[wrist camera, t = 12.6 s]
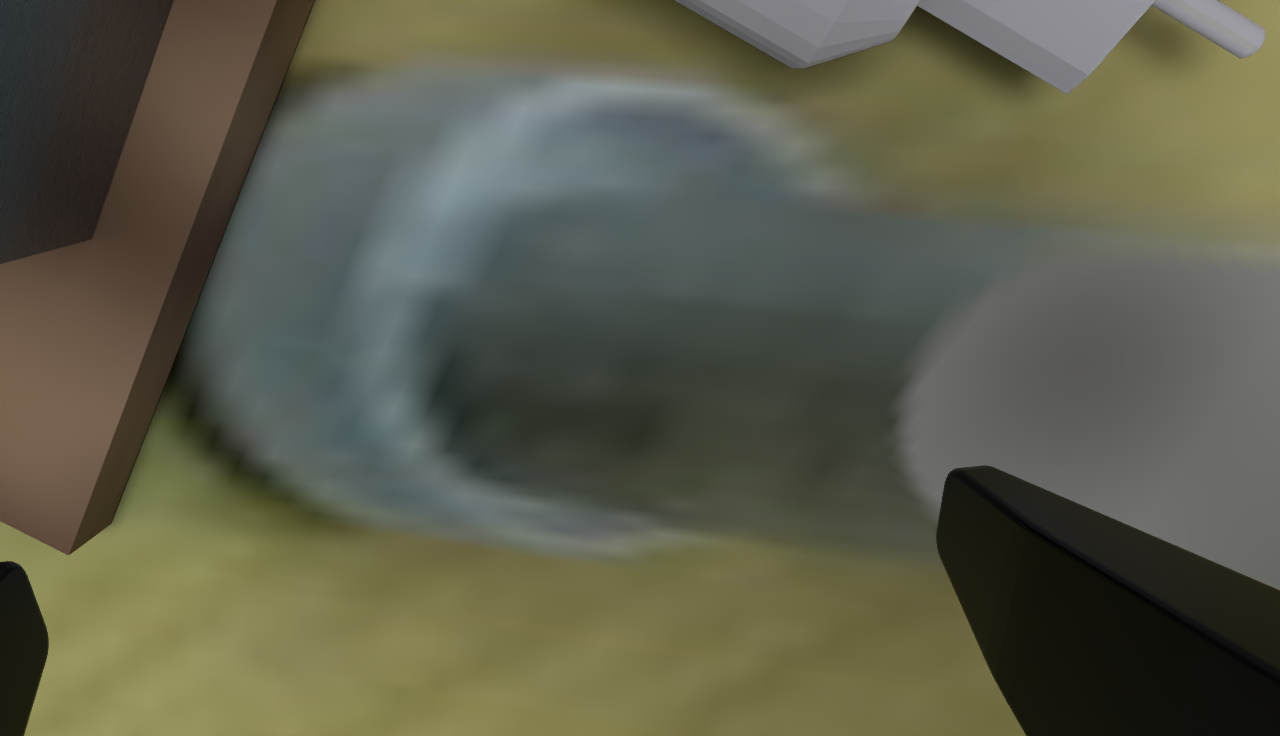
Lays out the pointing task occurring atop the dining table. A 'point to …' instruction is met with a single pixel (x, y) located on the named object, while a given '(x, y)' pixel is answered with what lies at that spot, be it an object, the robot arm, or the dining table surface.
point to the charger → (972, 28)
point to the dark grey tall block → (67, 112)
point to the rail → (132, 271)
